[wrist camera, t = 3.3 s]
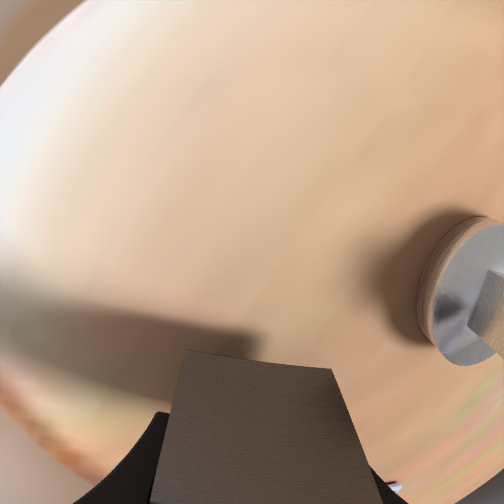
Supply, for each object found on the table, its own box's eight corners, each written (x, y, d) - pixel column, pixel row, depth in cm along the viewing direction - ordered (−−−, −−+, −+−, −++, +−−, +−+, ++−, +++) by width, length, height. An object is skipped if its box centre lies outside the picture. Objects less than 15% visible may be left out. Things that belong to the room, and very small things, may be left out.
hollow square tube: (293, 453, 12) (311, 566, 6) (177, 441, 12) (157, 558, 6) (331, 368, 11) (383, 506, 5) (186, 349, 10) (149, 501, 5)
